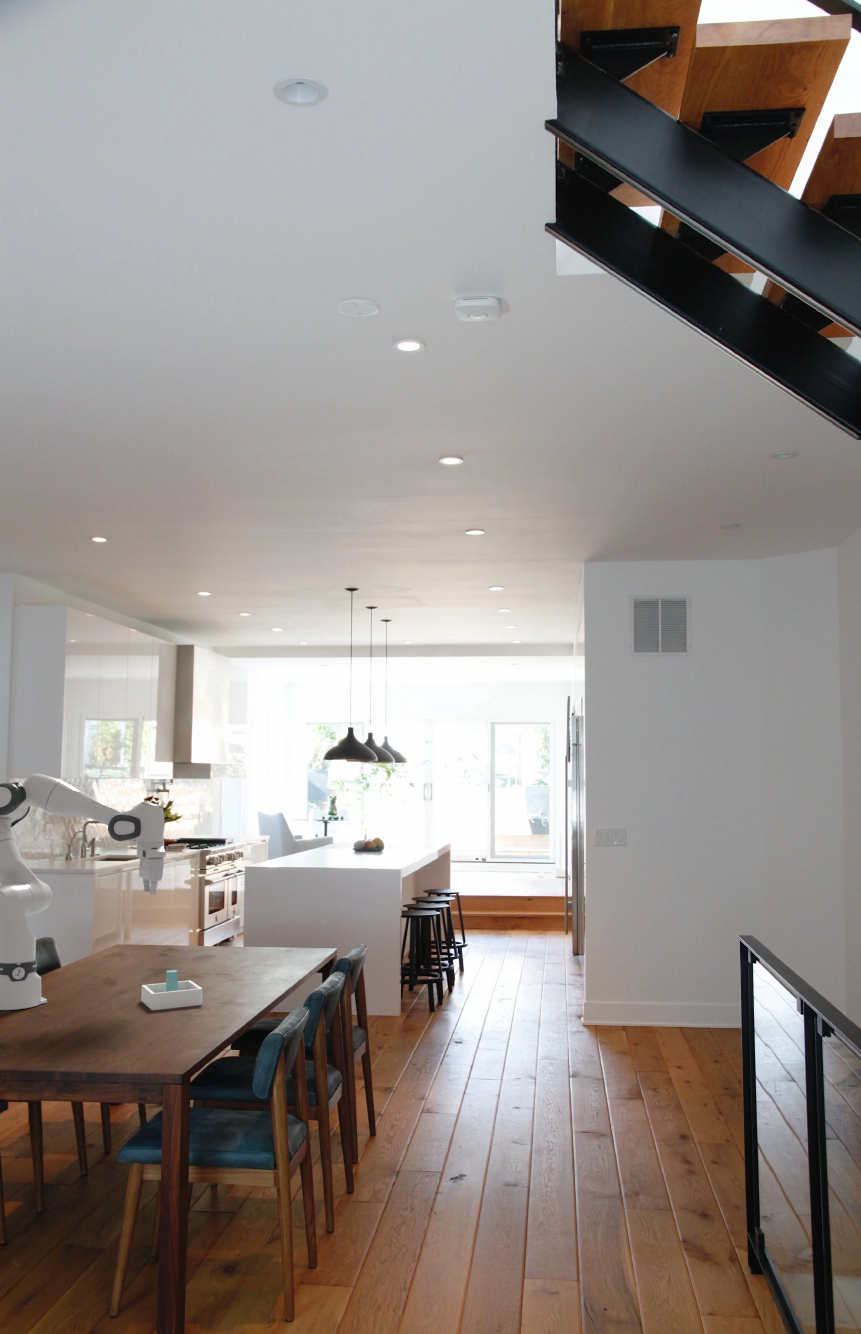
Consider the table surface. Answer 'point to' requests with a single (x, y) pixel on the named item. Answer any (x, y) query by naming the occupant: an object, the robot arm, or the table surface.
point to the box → (172, 995)
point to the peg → (171, 980)
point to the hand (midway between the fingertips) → (149, 893)
